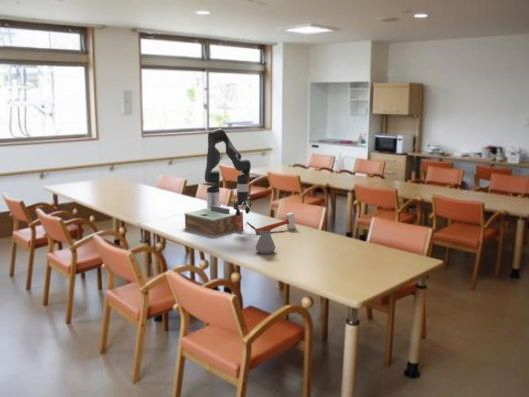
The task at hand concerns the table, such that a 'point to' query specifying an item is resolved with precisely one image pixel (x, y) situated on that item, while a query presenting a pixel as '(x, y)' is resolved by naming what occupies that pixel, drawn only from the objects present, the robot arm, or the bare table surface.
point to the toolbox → (210, 225)
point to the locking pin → (239, 221)
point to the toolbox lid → (212, 213)
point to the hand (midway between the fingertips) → (242, 214)
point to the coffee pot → (264, 241)
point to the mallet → (281, 223)
